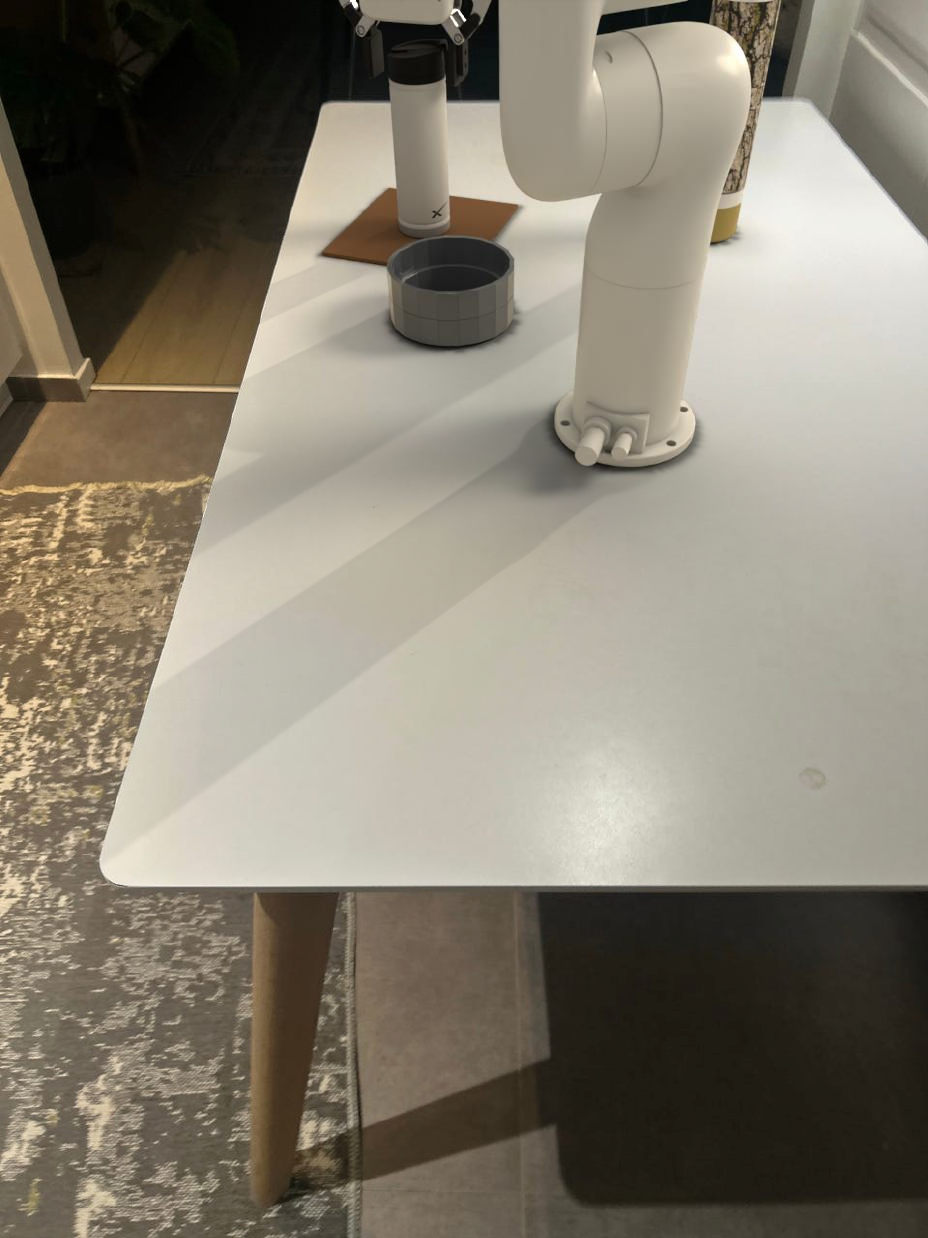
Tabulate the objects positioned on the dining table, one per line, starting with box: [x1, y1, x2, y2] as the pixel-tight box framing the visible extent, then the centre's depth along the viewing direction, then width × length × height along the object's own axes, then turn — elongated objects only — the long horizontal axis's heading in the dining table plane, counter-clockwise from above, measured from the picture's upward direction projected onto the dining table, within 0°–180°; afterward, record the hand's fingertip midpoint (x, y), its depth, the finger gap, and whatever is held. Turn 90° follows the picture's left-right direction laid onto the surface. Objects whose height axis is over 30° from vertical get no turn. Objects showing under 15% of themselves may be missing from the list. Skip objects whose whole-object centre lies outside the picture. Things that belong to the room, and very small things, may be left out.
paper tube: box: [708, 0, 782, 243], centre depth 102 cm, size 7×7×25 cm
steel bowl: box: [386, 235, 515, 347], centre depth 96 cm, size 13×13×6 cm
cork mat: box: [321, 187, 519, 266], centre depth 113 cm, size 20×18×1 cm
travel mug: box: [387, 38, 450, 238], centre depth 106 cm, size 6×7×20 cm
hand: (416, 78), depth 101 cm, fingers open, 9 cm apart
